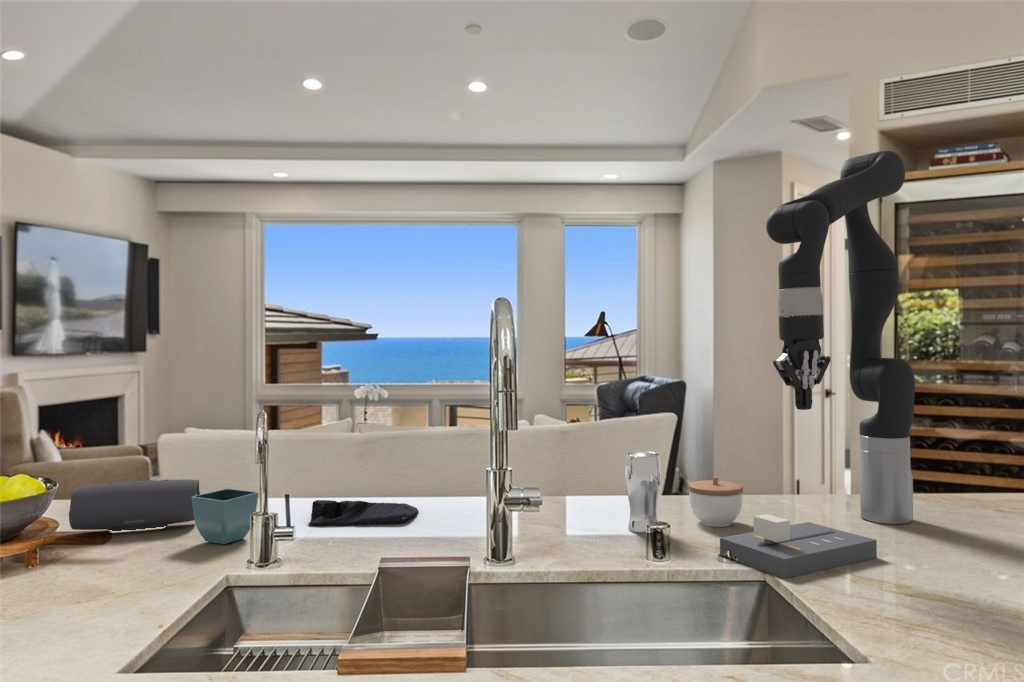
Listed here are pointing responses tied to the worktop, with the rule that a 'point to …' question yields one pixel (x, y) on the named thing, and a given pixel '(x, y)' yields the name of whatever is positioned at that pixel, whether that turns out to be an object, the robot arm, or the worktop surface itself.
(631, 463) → the beer glass
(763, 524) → the fader knob
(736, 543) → the panel
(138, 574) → the worktop surface
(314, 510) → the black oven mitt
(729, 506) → the lidded jar
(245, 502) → the flower pot
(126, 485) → the bluetooth speaker
